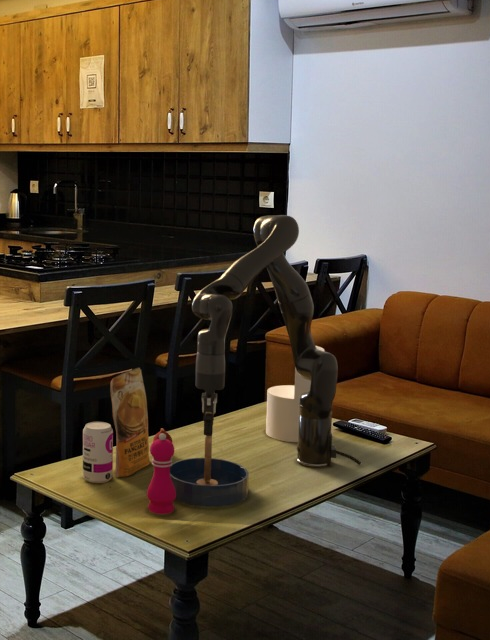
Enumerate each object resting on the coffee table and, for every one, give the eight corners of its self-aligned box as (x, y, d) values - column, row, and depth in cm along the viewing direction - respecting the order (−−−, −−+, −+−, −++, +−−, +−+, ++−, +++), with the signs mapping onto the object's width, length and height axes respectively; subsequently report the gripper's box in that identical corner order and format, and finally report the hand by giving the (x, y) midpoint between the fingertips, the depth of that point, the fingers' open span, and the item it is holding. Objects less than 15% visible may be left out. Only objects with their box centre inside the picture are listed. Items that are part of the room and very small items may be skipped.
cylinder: (320, 428, 290) (324, 344, 286) (320, 444, 273) (324, 355, 269) (267, 424, 293) (270, 341, 290) (264, 439, 277) (267, 352, 273)
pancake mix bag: (101, 476, 243) (101, 377, 240) (138, 457, 259) (139, 364, 255) (121, 481, 239) (122, 380, 236) (158, 462, 255) (159, 367, 251)
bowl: (247, 481, 241) (247, 460, 240) (248, 511, 220) (249, 488, 219) (169, 476, 243) (169, 455, 243) (163, 506, 222) (164, 483, 222)
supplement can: (116, 475, 244) (117, 422, 242) (106, 485, 236) (107, 431, 234) (89, 471, 246) (89, 419, 245) (78, 481, 239) (78, 428, 237)
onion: (172, 451, 264) (173, 426, 263) (171, 458, 259) (172, 431, 258) (153, 451, 265) (153, 425, 264) (152, 457, 259) (152, 430, 258)
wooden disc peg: (218, 487, 234) (219, 424, 232) (217, 495, 228) (219, 431, 226) (196, 486, 235) (198, 423, 232) (196, 494, 229) (197, 430, 227)
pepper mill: (144, 505, 222) (146, 429, 220) (173, 505, 223) (174, 428, 220) (148, 517, 215) (149, 438, 213) (177, 516, 216) (179, 437, 213)
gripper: (224, 376, 220) (222, 439, 222) (225, 364, 234) (223, 423, 236) (194, 375, 221) (192, 438, 223) (196, 362, 235) (195, 422, 237)
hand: (208, 430), depth 229 cm, fingers open, 8 cm apart
